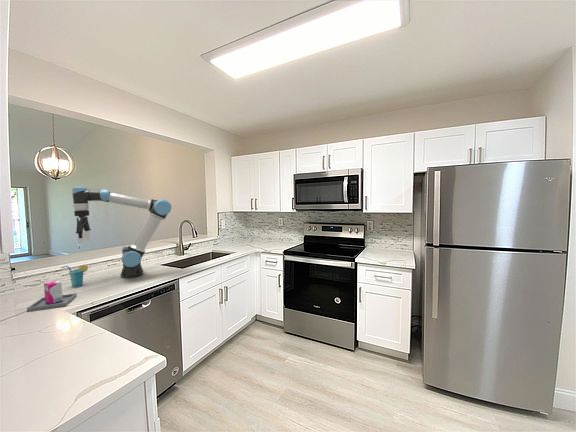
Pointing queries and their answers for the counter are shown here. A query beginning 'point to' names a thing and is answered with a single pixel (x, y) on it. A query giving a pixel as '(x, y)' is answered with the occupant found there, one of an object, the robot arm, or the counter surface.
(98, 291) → the counter surface
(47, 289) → the supplement box
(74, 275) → the cup
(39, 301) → the tray
